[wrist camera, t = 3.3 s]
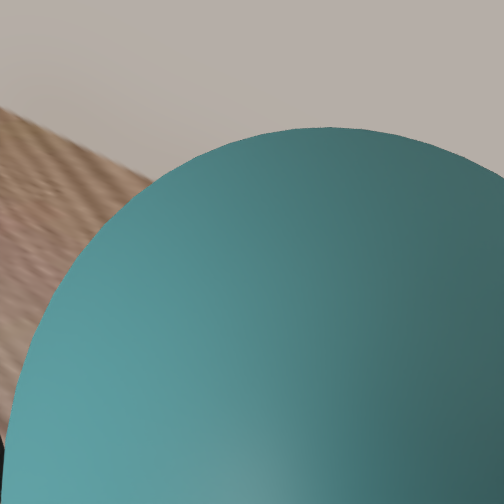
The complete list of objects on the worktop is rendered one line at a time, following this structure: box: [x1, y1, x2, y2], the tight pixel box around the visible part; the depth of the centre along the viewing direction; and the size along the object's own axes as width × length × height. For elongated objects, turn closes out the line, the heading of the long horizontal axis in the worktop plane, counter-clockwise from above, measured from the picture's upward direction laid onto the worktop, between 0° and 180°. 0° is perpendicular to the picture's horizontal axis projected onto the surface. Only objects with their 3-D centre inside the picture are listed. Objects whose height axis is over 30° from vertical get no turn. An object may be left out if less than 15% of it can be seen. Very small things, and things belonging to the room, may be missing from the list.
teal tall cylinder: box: [1, 127, 504, 504], centre depth 8 cm, size 4×4×13 cm
